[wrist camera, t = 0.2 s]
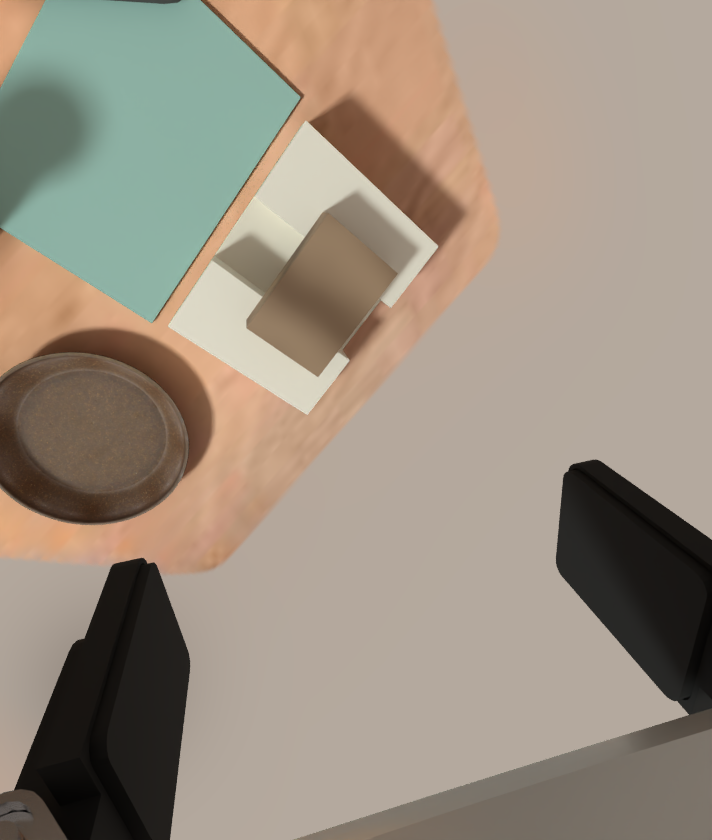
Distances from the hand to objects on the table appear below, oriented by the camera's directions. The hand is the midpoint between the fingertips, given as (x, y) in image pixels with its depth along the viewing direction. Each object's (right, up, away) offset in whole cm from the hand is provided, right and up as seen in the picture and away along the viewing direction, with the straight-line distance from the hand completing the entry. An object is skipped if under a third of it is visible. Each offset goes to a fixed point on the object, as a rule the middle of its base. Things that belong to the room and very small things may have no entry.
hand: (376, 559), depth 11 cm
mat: (-15, +21, +21) cm, 34 cm away
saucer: (-22, +2, +29) cm, 36 cm away
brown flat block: (-3, +12, +23) cm, 27 cm away
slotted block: (-5, +14, +27) cm, 31 cm away
